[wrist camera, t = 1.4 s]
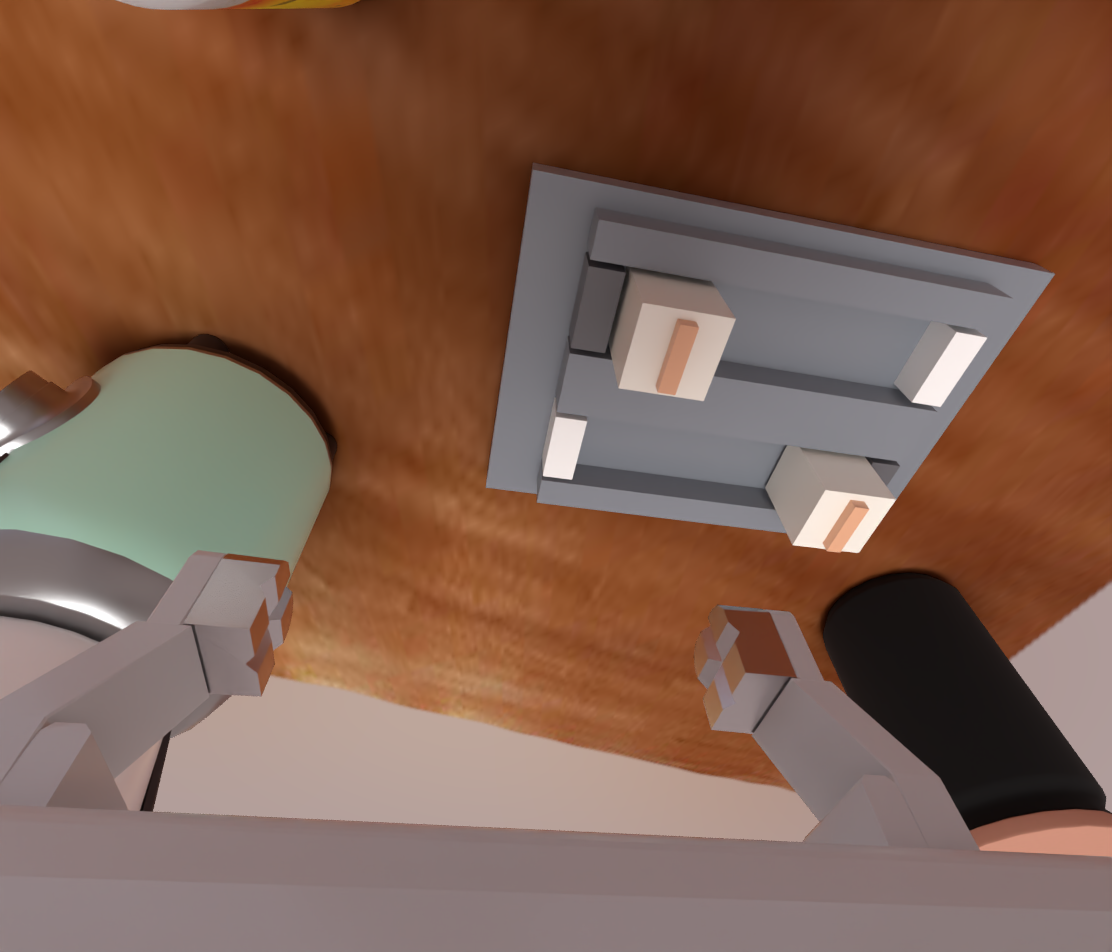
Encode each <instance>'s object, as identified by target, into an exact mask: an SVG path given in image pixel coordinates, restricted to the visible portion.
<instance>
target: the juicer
mask: <svg viewBox="0 0 1112 952" xmlns="http://www.w3.org/2000/svg"><path fill="white" fill-rule="evenodd" d="M336 450H337V444H336V441H335V439H334V438H333V437H332V436H331V435H329V434H328V433H326V432H324V430H323V428H322V426H321V424H320V423H319V421H318V419H317V417H316V416H315V414H314V412H313V411H312V410H311V408H310V407H309V406H308V405H307V404H306V403H305V402H304V401H303V400H302V399H301V398H300V397H299V395H298V394H297V393H296V392H295V391H294V390H293V389H292V388H291V387H289V386H288V385H287V384H285V383H284V382H282V381H281V380H280V379H278V378H277V377H275V376H274V375H273V374H271V373H270V372H268V371H267V370H266V369H264V368H262V367H260V366H258V365H256V364H254V363H251V362H249V361H247V360H245V359H243V358H241V357H238V356H236V355H234V354H232V353H229V350H228V348H227V346H226V345H225V344H224V343H223V342H222V341H221V340H219V339H218V338H216V337H215V336H211V335H208V334H202V335H198V336H196V337H194V338H193V339H192V340H191V341H190V342H189V343H188V344H160V345H156V346H152V347H147V348H143V349H139V350H135V351H131V352H128V353H125V354H123V355H122V356H120V357H118V358H117V359H115V360H114V361H112V362H110V363H109V364H107V365H106V366H104V367H102V368H101V369H100V370H99V371H97V372H96V373H95V374H94V375H93V376H92V377H89V376H85V377H81V378H79V379H77V380H76V381H74V382H73V383H72V384H70V385H69V386H68V387H67V388H66V389H65V390H63V389H61V388H60V387H58V386H57V385H55V384H54V383H53V382H50V383H48V382H47V381H46V380H44V379H43V378H41V377H40V376H38V375H37V374H35V373H34V372H32V371H28V372H27V373H25V374H23V375H22V376H20V377H19V378H17V379H16V380H15V381H13V382H12V383H10V384H9V385H8V386H7V387H5V388H4V389H3V390H1V391H0V699H2V698H4V697H5V696H7V695H9V694H11V693H12V692H14V691H16V690H18V689H19V688H21V687H23V686H24V685H26V684H28V683H30V682H31V681H33V680H35V679H37V678H38V677H40V676H42V675H44V674H45V673H47V672H49V671H51V670H52V669H54V668H56V667H58V666H59V665H61V664H63V663H65V662H66V661H68V660H70V659H71V658H73V657H75V656H77V655H78V654H80V653H82V652H84V651H85V650H87V649H89V648H91V647H92V646H94V645H96V644H98V643H99V642H101V641H103V640H105V639H106V638H108V637H110V636H112V635H113V634H115V633H117V632H119V631H120V630H122V629H124V628H125V627H127V626H129V625H131V624H132V623H134V622H136V621H147V620H148V618H149V617H150V615H151V614H152V612H153V611H154V609H155V608H156V606H157V605H158V603H159V602H160V600H161V599H162V597H163V596H164V594H165V593H166V591H167V590H168V588H169V587H170V585H171V584H172V582H173V581H174V579H175V578H176V576H177V575H178V573H179V572H180V570H181V569H182V567H183V566H184V564H185V563H186V561H187V560H188V558H189V557H190V556H191V555H192V554H193V553H195V552H196V551H197V550H202V551H210V552H218V553H226V554H228V553H229V554H237V555H245V556H253V557H261V558H269V559H276V560H284V561H287V562H289V569H290V578H291V576H292V573H293V571H294V569H295V567H296V564H297V562H298V560H299V557H300V555H301V553H302V551H303V548H304V546H305V544H306V541H307V539H308V537H309V534H310V532H311V530H312V528H313V525H314V523H315V521H316V518H317V516H318V514H319V512H320V509H321V507H322V505H323V502H324V500H325V498H326V496H327V493H328V491H329V489H330V483H331V474H332V460H333V457H334V455H335V453H336ZM290 578H289V580H290ZM289 580H288V582H287V584H286V587H287V585H288V583H289ZM231 696H232V695H220V694H209V698H208V699H207V700H205V701H204V702H203V703H202V704H201V705H200V706H198V707H197V708H196V709H195V710H194V711H193V712H191V713H190V714H189V715H188V716H187V717H186V718H184V719H183V720H182V721H181V722H180V723H179V724H178V725H176V726H175V727H174V728H173V729H172V730H171V731H169V732H168V733H167V734H166V735H165V736H164V737H162V738H161V739H160V740H159V741H158V742H157V743H155V744H154V745H153V746H152V747H151V748H150V749H149V750H147V751H146V752H145V753H144V754H143V755H142V756H140V757H139V758H138V759H137V760H136V761H135V762H133V763H132V764H131V765H130V766H129V767H128V768H127V769H125V770H124V771H123V772H122V773H121V774H120V775H118V776H117V777H116V778H115V779H114V780H115V783H116V785H117V787H118V789H119V791H120V793H121V795H122V797H123V799H124V801H125V803H126V806H127V808H128V810H129V811H149V812H153V809H154V804H155V800H156V795H157V791H158V787H159V783H160V778H161V774H162V769H163V765H164V761H165V757H166V752H167V748H168V744H169V740H170V738H172V737H175V736H177V735H179V734H181V733H183V732H186V731H188V730H190V729H192V728H193V727H195V726H196V725H197V724H198V723H200V722H201V721H202V720H204V719H205V718H206V717H207V716H209V715H210V714H211V713H212V712H213V711H214V710H216V709H217V708H218V707H219V706H220V705H222V704H223V703H224V702H225V701H226V700H227V699H228V698H229V697H231Z"/></svg>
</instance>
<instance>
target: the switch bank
mask: <svg viewBox="0 0 1112 952" xmlns="http://www.w3.org/2000/svg"><path fill="white" fill-rule="evenodd" d="M626 266H629V267H635V268H640V269H646V270H651V271H657V272H662V273H668V274H673V275H679V276H684V277H690V278H695V279H701V280H706V281H712V283H713V284H714V286H715V287H716V289H717V290H718V292H719V293H720V295H721V296H722V298H723V300H724V301H725V303H726V304H727V306H728V307H729V309H730V310H731V312H732V314H733V315H734V317H735V318H736V320H735V323H734V325H733V328H732V330H731V333H730V335H729V338H728V341H727V343H726V346H725V348H724V351H723V353H722V356H721V358H720V361H719V364H718V366H717V369H716V371H715V374H714V376H713V379H712V381H711V384H710V386H709V389H708V392H707V394H706V397H705V399H704V401H699V400H692V399H686V398H679V397H673V396H666V395H659V394H653V393H646V392H640V391H633V390H627V389H620V388H618V384H617V380H616V375H615V370H614V366H613V361H612V357H611V352H610V348H609V343H608V340H609V336H610V332H611V328H612V324H613V320H614V317H615V313H616V309H617V305H618V301H619V297H620V293H621V290H622V286H623V282H624V278H625V274H626V272H625V270H626ZM1054 275H1055V274H1054V273H1052V272H1050V271H1049V270H1047V269H1045V268H1043V267H1041V266H1039V265H1037V264H1035V263H1030V262H1025V261H1020V260H1015V259H1010V258H1005V257H1000V256H995V255H990V254H985V253H980V252H975V251H970V250H965V249H960V248H955V247H950V246H945V245H940V244H935V243H930V242H925V241H921V240H916V239H911V238H906V237H901V236H896V235H891V234H886V233H881V232H876V231H871V230H866V229H861V228H856V227H851V226H846V225H841V224H836V223H831V222H826V221H821V220H816V219H811V218H806V217H801V216H796V215H791V214H786V213H781V212H776V211H771V210H766V209H761V208H756V207H752V206H747V205H742V204H737V203H732V202H727V201H722V200H717V199H712V198H707V197H702V196H697V195H692V194H687V193H682V192H677V191H672V190H667V189H662V188H657V187H652V186H647V185H642V184H637V183H632V182H627V181H622V180H617V179H612V178H607V177H602V176H597V175H592V174H587V173H583V172H578V171H573V170H568V169H563V168H558V167H553V166H548V165H543V164H538V163H533V166H532V172H531V179H530V186H529V193H528V200H527V206H526V213H525V220H524V227H523V234H522V240H521V247H520V254H519V261H518V268H517V274H516V281H515V288H514V295H513V302H512V308H511V315H510V322H509V329H508V336H507V342H506V349H505V356H504V363H503V370H502V376H501V383H500V390H499V397H498V404H497V410H496V417H495V424H494V431H493V438H492V444H491V451H490V458H489V465H488V472H487V481H486V488H494V489H502V490H510V491H518V492H526V493H534V494H537V503H545V504H553V505H561V506H569V507H577V508H586V509H594V510H602V511H610V512H618V513H626V514H635V515H643V516H651V517H659V518H667V519H675V520H684V521H692V522H700V523H708V524H716V525H724V526H732V527H741V528H749V529H757V530H765V531H773V532H781V533H787V532H786V530H785V528H784V526H783V524H782V522H781V520H780V518H779V516H778V514H777V512H776V509H775V507H774V505H773V503H772V501H771V499H770V497H769V495H768V493H767V491H766V489H765V487H766V485H767V483H768V481H769V479H770V477H771V475H772V473H773V472H774V470H775V468H776V466H777V464H778V462H779V460H780V458H781V456H782V454H783V452H784V450H785V448H786V446H787V445H788V446H795V447H802V448H809V449H816V450H823V451H830V452H837V453H844V454H851V455H858V456H865V458H866V459H867V460H868V462H869V463H870V465H871V466H872V467H873V469H874V470H875V471H876V473H877V474H878V475H879V477H880V478H881V480H882V481H883V482H884V484H885V485H886V486H887V488H888V489H889V490H890V492H891V493H892V495H893V496H894V497H895V499H897V498H898V496H899V495H900V493H901V492H902V491H903V489H904V488H905V486H906V485H907V483H908V482H909V481H910V479H911V478H912V476H913V475H914V473H915V472H916V471H917V469H918V468H919V466H920V465H921V464H922V462H923V461H924V459H925V458H926V456H927V455H928V454H929V452H930V451H931V449H932V448H933V447H934V445H935V444H936V442H937V441H938V439H939V438H940V437H941V435H942V434H943V432H944V431H945V429H946V428H947V427H948V425H949V424H950V422H951V421H952V420H953V418H954V417H955V415H956V414H957V412H958V411H959V410H960V408H961V407H962V405H963V404H964V402H965V401H966V400H967V398H968V397H969V395H970V394H971V393H972V391H973V390H974V388H975V387H976V385H977V384H978V383H979V381H980V380H981V378H982V377H983V375H984V374H985V373H986V371H987V370H988V368H989V367H990V366H991V364H992V363H993V361H994V360H995V358H996V357H997V356H998V354H999V353H1000V351H1001V350H1002V348H1003V347H1004V346H1005V344H1006V343H1007V341H1008V340H1009V339H1010V337H1011V336H1012V334H1013V333H1014V331H1015V330H1016V329H1017V327H1018V326H1019V324H1020V323H1021V322H1022V320H1023V319H1024V317H1025V316H1026V314H1027V313H1028V312H1029V310H1030V309H1031V307H1032V306H1033V304H1034V303H1035V302H1036V300H1037V299H1038V297H1039V296H1040V295H1041V293H1042V292H1043V290H1044V289H1045V287H1046V286H1047V285H1048V283H1049V282H1050V280H1051V279H1052V277H1053V276H1054Z"/></svg>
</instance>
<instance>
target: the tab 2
mask: <svg viewBox="0 0 1112 952" xmlns="http://www.w3.org/2000/svg"><path fill="white" fill-rule="evenodd" d="M765 489H766V491H767V493H768V495H769V497H770V499H771V501H772V503H773V505H774V507H775V509H776V512H777V514H778V516H779V518H780V520H781V522H782V524H783V526H784V528H785V530H786V532H787V534H788V537H789V539H790V541H791V543H792V545H796V546H805V547H813V548H821V549H826V551H831V552H841V551H846V552H855V553H859V552H860V550H861V549H862V547H863V546H864V545H865V543H866V542H867V540H868V539H869V537H870V536H871V535H872V533H873V532H874V530H875V529H876V527H877V526H878V525H879V523H880V522H881V520H882V519H883V518H884V516H885V515H886V513H887V512H888V510H889V509H890V508H891V506H892V505H893V503H894V502H895V500H896V499H895V497H894V496H893V495H892V493H891V492H890V490H889V489H888V488H887V486H886V485H885V484H884V482H883V481H882V480H881V478H880V477H879V475H878V474H877V473H876V471H875V470H874V469H873V467H872V466H871V465H870V463H869V462H868V460H867V459H866V458H865V456H858V455H851V454H844V453H837V452H830V451H823V450H816V449H809V448H802V447H795V446H788V445H787V446H786V448H785V450H784V452H783V454H782V456H781V458H780V460H779V462H778V464H777V466H776V468H775V470H774V472H773V473H772V475H771V477H770V479H769V481H768V483H767V485H766V487H765Z"/></svg>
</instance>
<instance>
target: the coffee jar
mask: <svg viewBox="0 0 1112 952" xmlns="http://www.w3.org/2000/svg"><path fill="white" fill-rule="evenodd" d="M823 640H824V643H825V647H826V650H827V652H828V654H829V657H830V659H831V661H832V663H833V665H834V668H835V670H836V672H837V674H838V676H839V679H840V681H841V683H842V685H843V687H844V690H845V692H846V694H847V696H848V697H849V698H850V699H851V700H852V701H854V702H855V703H856V704H857V705H858V706H859V707H860V708H862V709H863V710H864V711H865V712H866V713H867V714H868V715H869V716H871V717H872V718H873V719H874V720H875V721H876V722H877V723H878V724H880V725H881V726H882V727H883V728H884V729H885V730H886V731H888V732H889V733H890V734H891V735H892V736H893V737H894V738H895V739H897V740H898V741H899V742H900V743H901V744H902V745H903V746H905V747H906V748H907V749H908V750H909V751H910V752H911V753H912V754H914V755H915V756H916V757H917V758H918V759H919V760H920V761H921V762H923V763H924V764H925V765H926V766H927V767H928V768H929V769H931V770H932V771H933V772H934V773H935V774H936V775H937V776H938V777H940V779H941V781H942V782H943V784H944V786H945V788H946V790H947V791H948V793H949V795H950V797H951V799H952V800H953V802H954V804H955V806H956V808H957V809H958V811H959V813H960V815H961V817H962V818H963V820H964V822H965V824H966V826H967V827H968V829H969V831H970V833H971V835H972V836H973V838H974V840H975V842H976V844H977V845H978V847H979V849H980V851H1001V852H1022V853H1044V854H1065V855H1086V856H1107V857H1112V813H1111V812H1109V811H1107V810H1106V809H1105V804H1106V796H1105V794H1104V791H1103V789H1102V788H1101V787H1100V785H1099V784H1098V782H1097V781H1096V780H1095V778H1094V777H1093V775H1092V774H1091V773H1090V771H1089V770H1088V769H1087V767H1086V766H1085V764H1084V763H1083V762H1082V760H1081V759H1080V758H1079V756H1078V755H1077V753H1076V752H1075V751H1074V749H1073V748H1072V747H1071V745H1070V744H1069V742H1068V741H1067V740H1066V738H1065V737H1064V736H1063V734H1062V733H1061V732H1060V730H1059V729H1058V727H1057V726H1056V725H1055V723H1054V722H1053V720H1052V719H1051V718H1050V716H1049V715H1048V714H1047V712H1046V711H1045V710H1044V708H1043V707H1042V705H1041V704H1040V703H1039V701H1038V700H1037V698H1036V697H1035V696H1034V694H1033V693H1032V691H1031V690H1030V689H1029V687H1028V686H1027V685H1026V684H1025V682H1024V681H1023V679H1022V678H1021V676H1020V675H1019V674H1018V672H1017V671H1016V669H1015V668H1014V667H1013V665H1012V664H1011V663H1010V661H1009V660H1008V658H1007V657H1006V656H1005V654H1004V653H1003V652H1002V650H1001V649H1000V647H999V646H998V645H997V643H996V642H995V641H994V639H993V638H992V636H991V635H990V634H989V632H988V631H987V630H986V628H985V627H984V625H983V624H982V623H981V621H980V620H979V619H978V617H977V616H976V614H975V613H974V612H973V610H972V609H971V607H970V606H969V605H968V603H967V602H966V601H965V599H964V598H963V597H962V595H961V594H960V592H959V591H958V590H957V589H956V588H955V587H953V586H951V585H949V584H947V583H945V582H943V581H941V580H939V579H936V578H932V577H930V576H928V575H924V574H916V573H901V574H890V575H886V576H883V577H879V578H876V579H873V580H869V581H867V582H865V583H863V584H861V585H859V586H857V587H855V588H853V589H851V590H850V591H849V592H848V593H846V594H845V595H844V596H843V597H841V598H840V599H839V600H838V601H837V602H836V603H835V605H834V606H833V607H832V609H831V610H830V611H829V613H828V617H827V620H826V624H825V628H824V632H823Z"/></svg>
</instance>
